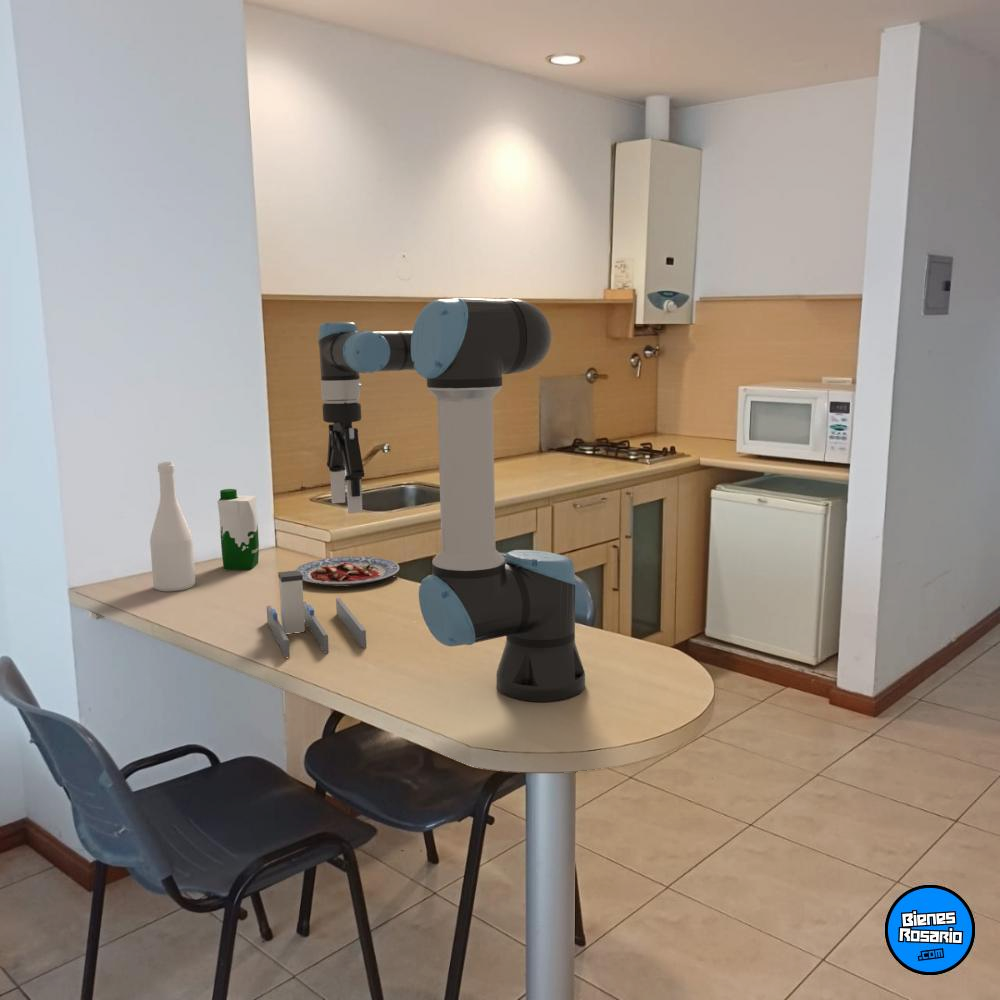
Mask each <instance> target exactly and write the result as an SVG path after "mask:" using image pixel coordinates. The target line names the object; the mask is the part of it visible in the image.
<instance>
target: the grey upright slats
mask: <svg viewBox="0 0 1000 1000" xmlns="http://www.w3.org/2000/svg"><path fill="white" fill-rule="evenodd" d="M303 604H304V620H305V621H304V623H305V622H306V623H305V625H306V624H307V625H308V626H307V625H306V626H307V628H308V627H309V628H310V629H309V628H308V629H309V631H310V630H311V631H312V633H313V634H312V633H311V634H312V636H313V635H314V636H315V637H314V636H313V637H314V639H315V638H316V639H317V641H318V642H317V641H316V642H317V644H318V643H319V644H320V645H319V644H318V645H319V647H320V646H321V647H322V649H323V650H322V649H321V650H322V652H323V651H324V652H329V635H328V632H327V631H326V630H325V628H324V627H323V626H322V624H321V623H320V621H319V620H318V618H317V616H316V615H315V610H314V608H313V606H312V605H311V604H308V603H307V601H303ZM335 606H336V607H335V609H336V615H337V616H338V618H339V617H340V618H339V619H340V620H341V621H343V622H342V623H343V625H344V626H345V627H346V628H347V629H348V632H349V633H350V634H351V635H352V636H353V638H354V640H356V642H357V644H359V646H360V645H361V646H360V647H361V648H362V649H364V648H363V647H366V648H367V630H366V628H365V627H364V626H363V625H362V623H360V621H359V620H358V619H357V617H356V616H355V615H354V613H353V612H352V611H351V610H350V608H348V606H347V605H346V603H345V602H344V601H343V600H342V599H341V597H336V598H335ZM266 621H267V624H268V626H269V625H270V626H269V628H270V627H271V628H270V630H271V629H272V630H271V632H272V631H273V632H272V634H273V633H274V634H273V636H274V635H275V636H274V638H275V637H276V638H275V640H276V639H277V640H276V642H277V641H278V642H277V644H278V643H279V644H278V646H279V645H280V646H279V648H281V649H280V650H282V651H281V652H283V653H282V654H284V655H283V657H284V656H285V657H290V654H291V653H290V640H289V638H288V635H286V634H285V632H284V630H283V628H282V624H281V623H280V620H279V619H278V613H277V610H276V609H275V608H272V605H266ZM311 631H310V632H311ZM316 639H315V640H316ZM321 647H320V648H321ZM324 652H323V653H324ZM285 657H284V658H285Z"/></svg>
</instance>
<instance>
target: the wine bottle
mask: <svg viewBox="0 0 1000 1000" xmlns="http://www.w3.org/2000/svg"><path fill="white" fill-rule="evenodd" d="M157 471H158V473H159V475H158V476H159V491H160V492H159V493H160V494H159V495H160V496H159V497H160V498H159V504H158V508H157V510H156V511H157V512H156V515H155V518H154V523H153V526H152V530H151V533H150V539H149V543H150V544H149V546H150V558H151V569H152V571H151V572H152V583H153V584H152V585H153V587H154V588H155V589H156V590H157V591H158V592H159V591H160V592H178V591H184V590H188V589H191V588H193V587H194V586H195V583H196V570H195V569H196V568H195V555H194V553H195V552H194V540H193V535H192V532H191V529H190V526H189V525H188V521H187V520H186V518H185V516H184V513H183V510H182V509H181V506H180V504H179V501H178V498H177V493H176V484H175V483H176V482H175V474H174V473H175V464H174V462H173V461H162V462H158V464H157Z"/></svg>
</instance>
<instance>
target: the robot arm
mask: <svg viewBox="0 0 1000 1000" xmlns="http://www.w3.org/2000/svg"><path fill="white" fill-rule="evenodd" d="M551 329H552V328H551V325H550V323H549V320H548V319H547V317H546V315H545V314H544V313H543V312H542V311H541V310H540V309H539V308H538V307H537V306H535V304H532V303H530V302H527V301H525V300H521V299H516V298H515V299H514V298H503V299H500V298H496V299H495V298H465V297H463V298H460V297H453V298H445V299H436V300H432V301H430V302H429V303H427V304H426V305H425V306H424V307H423V308H422V310H421V311H420V312H419V315H418V316H417V318H416V319H415V322H414V324H413V328H412V330H403V331H402V330H400V331H399V330H394V331H393V330H391V331H389V330H388V331H387V330H386V331H385V330H383V331H381V330H380V331H373V330H359V331H358V326H357V324H356V323H355V322H349V321H345V322H344V321H343V322H342V321H339V322H337V321H336V322H323V323H321V324H320V325H319V326H318V348H319V350H318V351H319V364H320V366H319V367H320V385H321V386H320V387H321V388H320V389H321V391H320V392H321V400H322V401H323V402H324V403H323V404H322V405H321V406H322V420H323V421H324V422H325V423H329V424H328V443H327V444H328V446H327V460H326V461H327V462H326V467H327V468H328V470H329V477H330V492H331V493H330V496H331V504H342V503H346V501H347V513H348V514H359V513H363V493H362V492H363V491H362V490H363V489H362V479H363V478H364V477H365V470H364V466H363V465H364V464H363V460H362V453H361V447H360V446H361V445H360V441H359V429H358V428H357V427H353V425H352V424H353V423H354V422H359V421H362V405H361V403H360V402H359V401H358V400H360V399H361V389H363V384H362V383H360V379H361V378H360V373H361V374H366V373H368V374H370V373H371V374H372V373H375V372H395V371H396V372H398V371H416V374H418V375H419V376H420V377H422V378H423V379H426V387H427V390H428V392H430V394H432V395H433V396H434V397H435V398H436V403H437V428H438V429H437V430H438V431H437V433H438V434H437V437H438V463H439V464H438V465H439V466H438V468H439V471H438V473H439V475H438V476H439V504H440V505H439V506H440V508H439V509H440V540H441V541H440V542H441V544H440V545H441V550H440V551H439V553H438V554H437V555H436V556H435V557H434V558H433V559H432V563H431V564H432V574H429V575H427V576H426V577H424V578H423V579H422V580H421V582H420V585H419V588H418V601H419V607H420V612H421V615H422V618H423V621H424V622H425V625H426V626H427V629H428V631H429V632H430V634H431V635H432V636H433V637H434V639H435V640H436V641H437V642H439V643H440V644H442V645H443V646H446V647H458V646H463V645H465V646H472V645H474V644H475V643H479V642H484V641H485V642H486V641H490V640H494V639H499V638H503V637H506V638H505V639H506V641H505V644H504V648H503V651H502V654H501V658H500V660H499V663H498V666H497V670H496V689H498V691H499V692H500V693H502V694H504V695H505V696H506V697H507V696H508V697H510V698H513V699H517V700H521V701H529V702H555V701H561V700H567V699H569V698H573V697H575V696H577V695H579V694H580V693H582V692H583V691H584V689H585V687H586V673H585V669H584V666H583V664H582V663H583V662H582V659H581V657H580V654H579V651H578V649H577V645H576V632H575V631H576V586H577V581H576V572H575V565H574V563H573V561H572V560H571V559H570V558H568V557H567V556H565V555H563V554H558V553H554V552H550V551H549V552H548V551H543V550H534V549H515V550H514V549H513V550H510V551H508V552H506V554H505V557H504V555H502V554H501V553H500V552H499V551H498V550H497V548H496V504H495V503H496V502H495V499H496V498H495V494H496V493H495V453H494V451H495V449H494V446H495V445H494V443H495V442H494V439H495V438H494V403H493V402H494V397H495V396H496V395H497V394H498V393H499V392H500V391H501V390H502V389H503V375H510V374H512V375H513V374H520V373H523V372H526V371H529V370H532V369H533V368H535V367H536V366H538V365H539V364H540V363H541V362H542V361H543V360H544V359H545V357H547V354H548V353H549V350H550V348H551V344H552V330H551ZM345 471H346V475H345ZM345 481H346V485H345ZM345 486H346V488H345Z"/></svg>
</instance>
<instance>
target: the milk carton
mask: <svg viewBox="0 0 1000 1000" xmlns="http://www.w3.org/2000/svg"><path fill="white" fill-rule="evenodd" d="M219 492H220V493H219V494H220V498H219V499H218V500H217V509H218V517H219V532H220V534H219V535H220V543H221V544H220V545H221V546H220V547H221V559H222V567H223V570H224V571H227V570H228V571H241V570H243V571H244V570H245V571H248V570H250V571H251V570H252V569H253V568H255V567H256V566H257V565H258V564H259V556H260V553H259V551H260V542H259V540H260V539H259V526H258V525H259V524H258V522H259V521H258V507H257V496H256V495H246V494H244V495H243V494H242V495H238V494H237V489H236V488H235V489H234V488H226V489H225V488H224V489H221V490H220V491H219Z"/></svg>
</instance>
